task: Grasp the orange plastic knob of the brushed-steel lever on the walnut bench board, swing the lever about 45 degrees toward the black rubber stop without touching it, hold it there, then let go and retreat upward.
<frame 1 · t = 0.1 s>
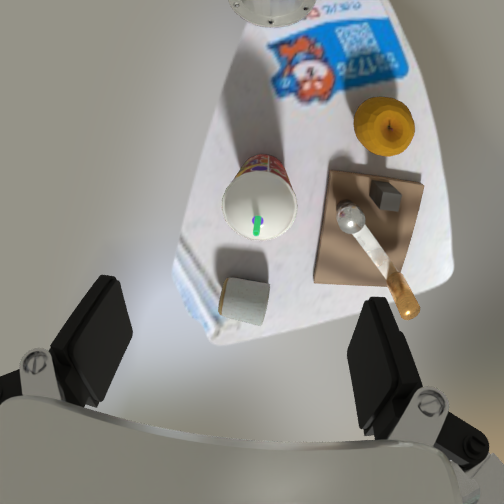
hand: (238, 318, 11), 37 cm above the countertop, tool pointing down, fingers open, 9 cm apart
ceramic mug: (246, 293, 57), on the countertop
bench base: (366, 232, 49), on the countertop
lever: (380, 262, 41), point 9 cm above the countertop, hinge at 0.0°
smoothie: (263, 173, 45), on the countertop
apple: (373, 121, 40), on the countertop
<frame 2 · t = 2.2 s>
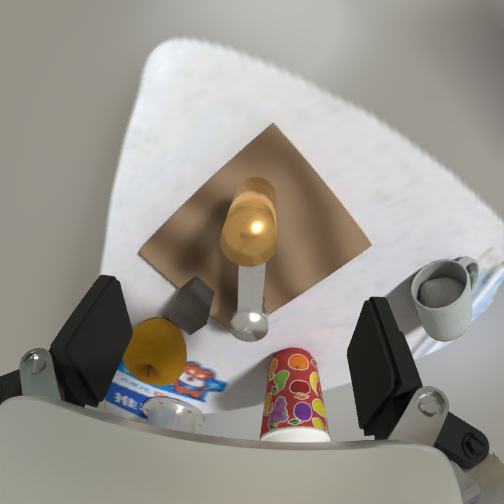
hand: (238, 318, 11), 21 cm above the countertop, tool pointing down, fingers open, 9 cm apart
ceramic mug: (440, 278, 34), on the countertop
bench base: (252, 241, 33), on the countertop
lever: (249, 293, 25), point 9 cm above the countertop, hinge at 0.0°
smoothie: (292, 359, 42), on the countertop
apple: (164, 327, 41), on the countertop
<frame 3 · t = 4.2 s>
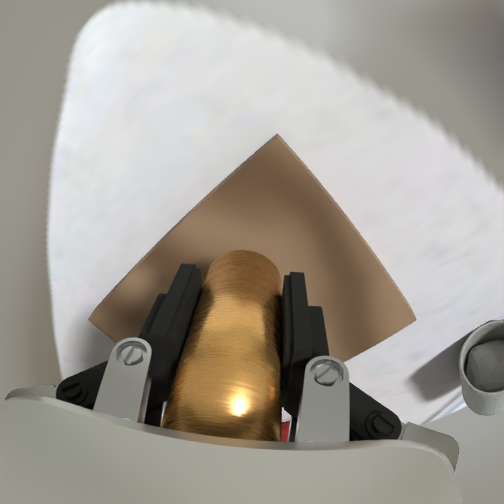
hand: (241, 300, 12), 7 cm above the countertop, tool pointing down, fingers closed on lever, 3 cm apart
ceramic mug: (489, 338, 23), on the countertop
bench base: (243, 314, 22), on the countertop
lever: (235, 425, 14), point 9 cm above the countertop, hinge at 0.0°, touching gripper
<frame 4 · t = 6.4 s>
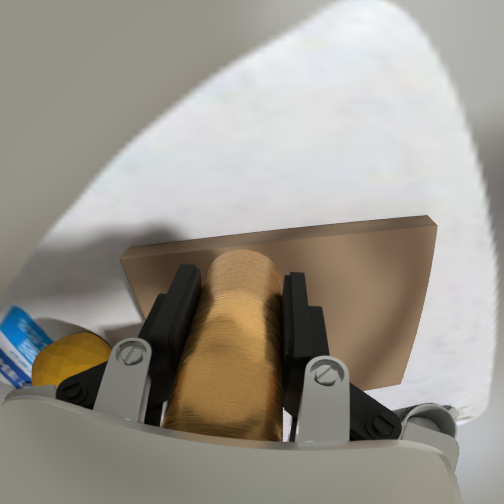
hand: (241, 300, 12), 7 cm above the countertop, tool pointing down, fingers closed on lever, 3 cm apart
ceramic mug: (421, 415, 30), on the countertop
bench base: (287, 326, 22), on the countertop
lever: (231, 425, 14), point 9 cm above the countertop, hinge at 31.7°, touching gripper
apple: (96, 344, 26), on the countertop
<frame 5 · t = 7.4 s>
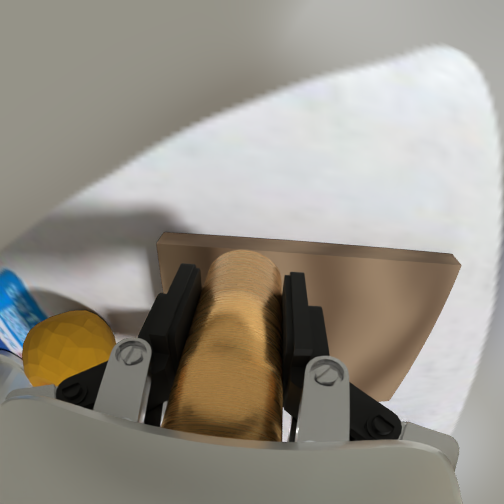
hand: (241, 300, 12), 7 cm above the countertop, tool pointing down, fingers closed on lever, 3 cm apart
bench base: (304, 334, 23), on the countertop
lever: (234, 425, 14), point 9 cm above the countertop, hinge at 44.3°, touching gripper
apple: (93, 324, 24), on the countertop
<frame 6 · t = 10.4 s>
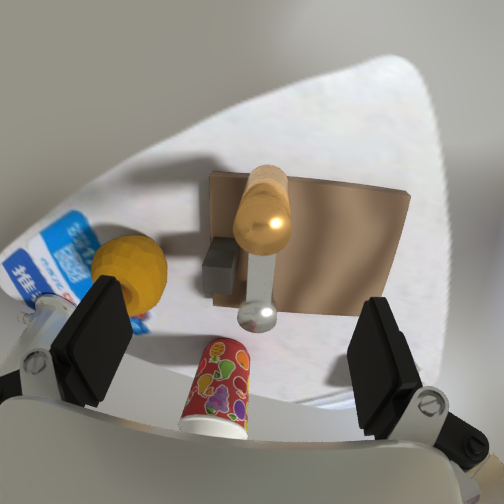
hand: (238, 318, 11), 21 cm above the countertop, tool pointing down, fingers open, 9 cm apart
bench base: (304, 249, 33), on the countertop
lever: (259, 283, 24), point 9 cm above the countertop, hinge at 44.4°
smoothie: (228, 349, 43), on the countertop
apple: (145, 250, 35), on the countertop
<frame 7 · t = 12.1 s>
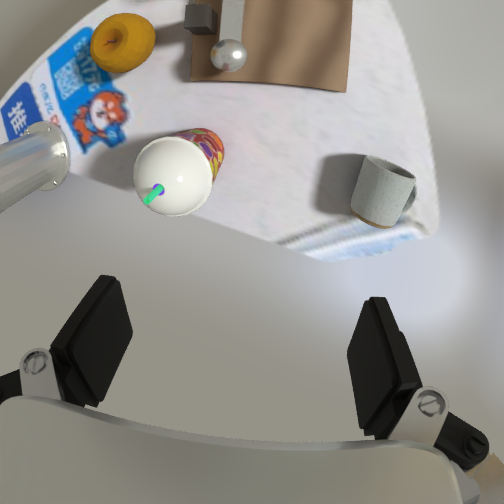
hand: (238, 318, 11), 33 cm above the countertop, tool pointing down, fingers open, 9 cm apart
ceramic mug: (381, 184, 41), on the countertop
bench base: (272, 28, 31), on the countertop
smoothie: (202, 150, 40), on the countertop
apple: (138, 45, 33), on the countertop
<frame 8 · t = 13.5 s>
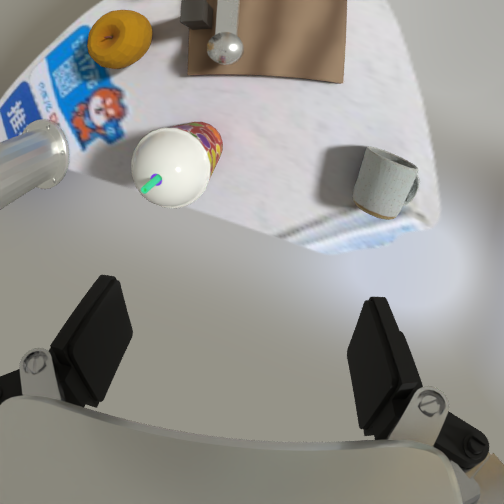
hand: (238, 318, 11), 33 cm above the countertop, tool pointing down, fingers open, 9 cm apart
ceramic mug: (383, 175, 41), on the countertop
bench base: (268, 21, 31), on the countertop
smoothie: (200, 143, 40), on the countertop
apple: (135, 42, 32), on the countertop
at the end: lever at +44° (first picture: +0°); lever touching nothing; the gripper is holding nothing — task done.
